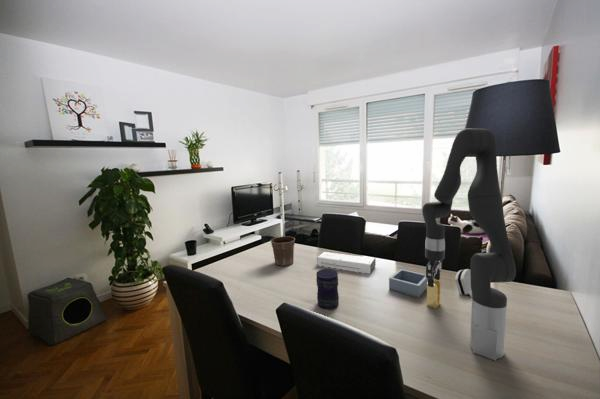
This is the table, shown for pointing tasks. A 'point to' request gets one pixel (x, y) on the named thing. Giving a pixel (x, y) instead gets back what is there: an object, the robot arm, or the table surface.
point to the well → (408, 283)
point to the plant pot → (283, 250)
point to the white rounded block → (464, 282)
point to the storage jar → (327, 289)
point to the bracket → (433, 294)
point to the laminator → (346, 262)
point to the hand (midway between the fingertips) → (433, 282)
